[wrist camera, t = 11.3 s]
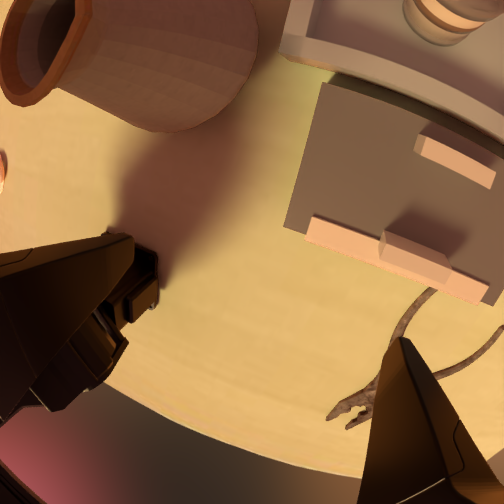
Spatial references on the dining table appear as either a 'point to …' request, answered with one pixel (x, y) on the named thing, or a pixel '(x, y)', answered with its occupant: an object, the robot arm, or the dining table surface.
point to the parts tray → (402, 57)
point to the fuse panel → (401, 195)
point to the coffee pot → (131, 56)
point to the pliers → (368, 393)
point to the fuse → (449, 18)
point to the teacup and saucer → (1, 174)
